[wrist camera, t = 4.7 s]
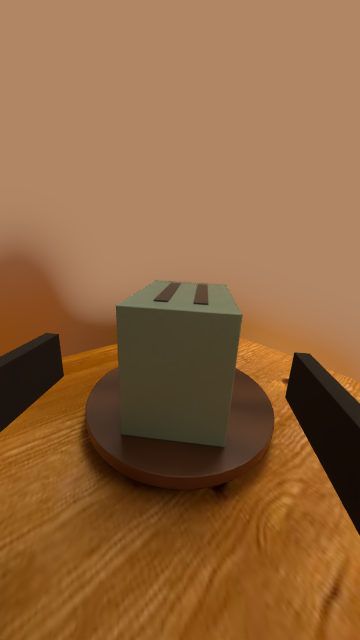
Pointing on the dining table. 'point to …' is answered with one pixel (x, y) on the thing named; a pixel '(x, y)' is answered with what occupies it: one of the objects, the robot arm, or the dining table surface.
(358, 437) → the robot arm
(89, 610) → the dining table surface
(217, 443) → the toaster
